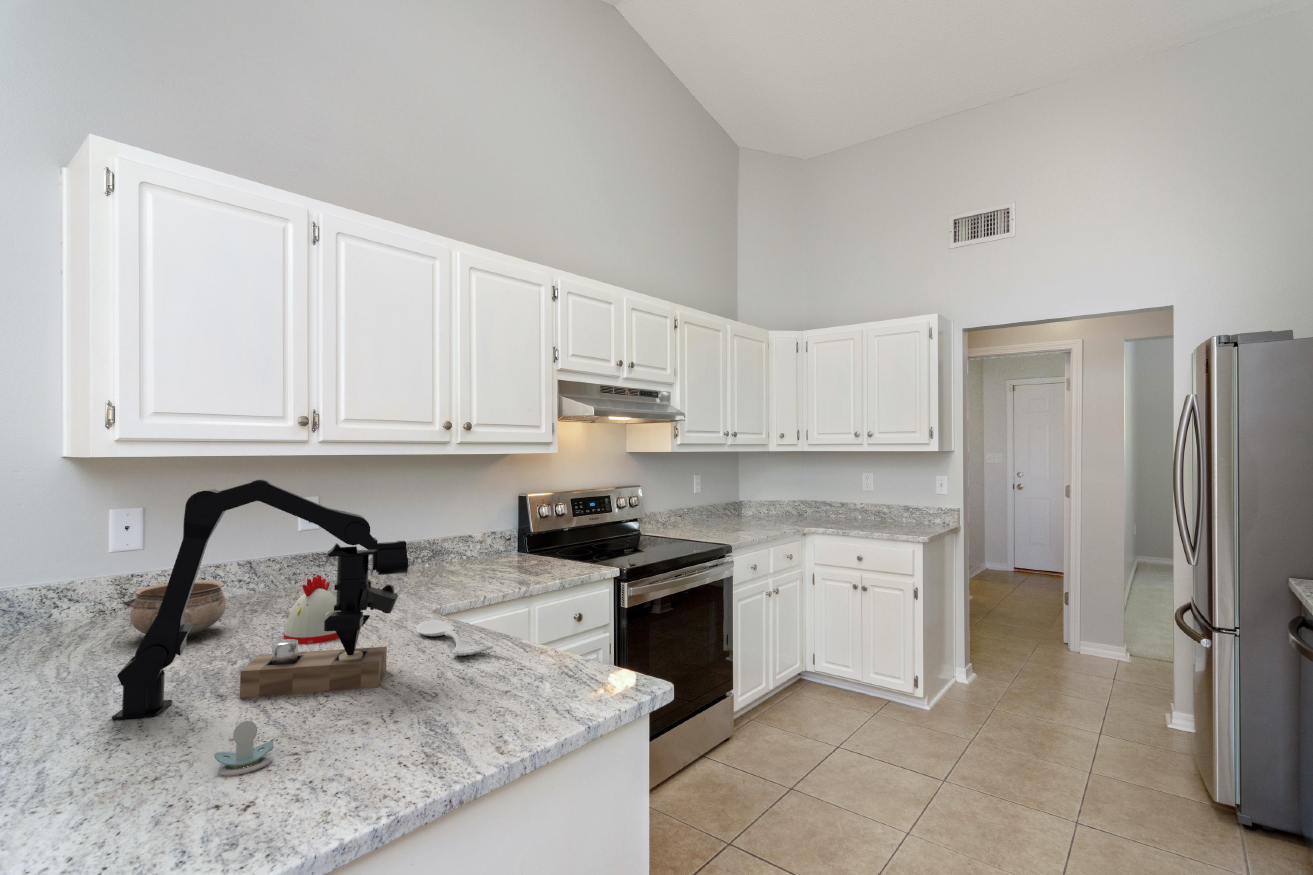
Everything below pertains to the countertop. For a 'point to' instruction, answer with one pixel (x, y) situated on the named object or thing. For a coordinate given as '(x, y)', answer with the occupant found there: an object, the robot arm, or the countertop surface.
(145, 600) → the cooking pot
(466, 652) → the spoon
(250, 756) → the pacifier
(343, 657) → the birch peg
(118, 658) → the countertop surface
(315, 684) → the walnut block
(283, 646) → the steel peg
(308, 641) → the kitchen timer
